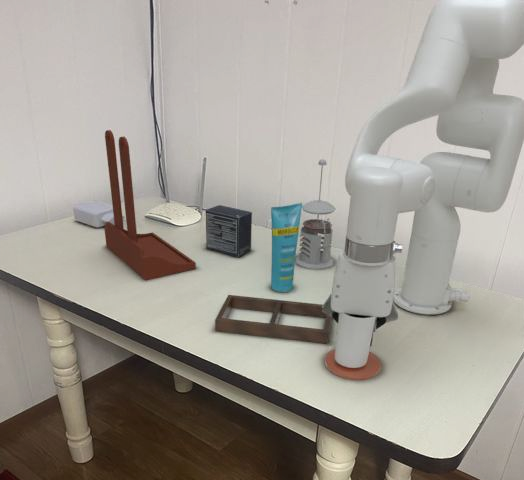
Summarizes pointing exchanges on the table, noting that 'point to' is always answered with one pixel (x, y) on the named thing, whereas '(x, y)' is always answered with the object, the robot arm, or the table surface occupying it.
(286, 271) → the tube
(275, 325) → the rack
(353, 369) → the coaster
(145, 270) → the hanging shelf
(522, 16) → the robot arm
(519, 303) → the table surface
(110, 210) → the charger
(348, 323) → the white cup
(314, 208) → the french press
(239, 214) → the small box
